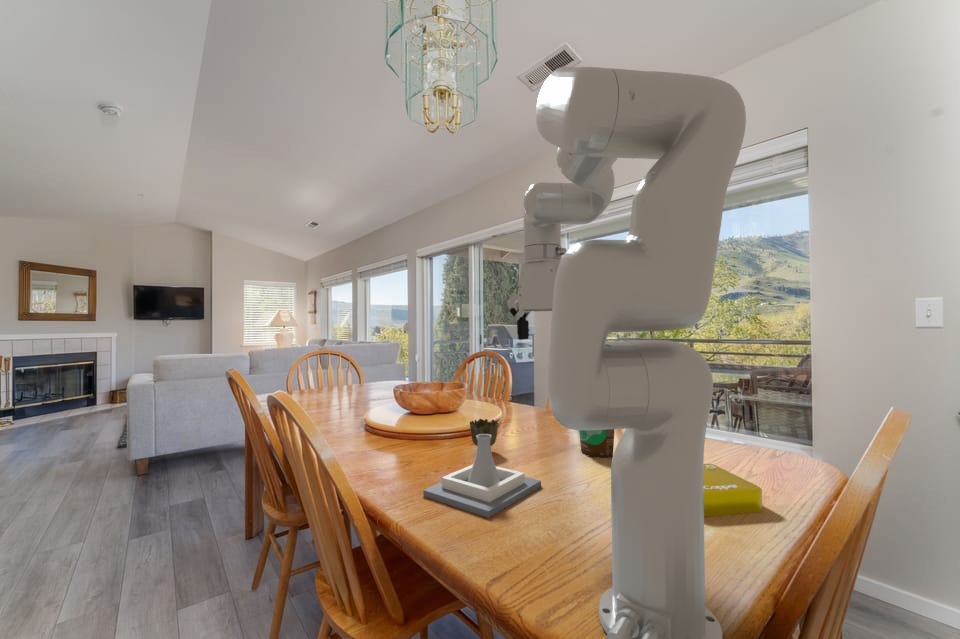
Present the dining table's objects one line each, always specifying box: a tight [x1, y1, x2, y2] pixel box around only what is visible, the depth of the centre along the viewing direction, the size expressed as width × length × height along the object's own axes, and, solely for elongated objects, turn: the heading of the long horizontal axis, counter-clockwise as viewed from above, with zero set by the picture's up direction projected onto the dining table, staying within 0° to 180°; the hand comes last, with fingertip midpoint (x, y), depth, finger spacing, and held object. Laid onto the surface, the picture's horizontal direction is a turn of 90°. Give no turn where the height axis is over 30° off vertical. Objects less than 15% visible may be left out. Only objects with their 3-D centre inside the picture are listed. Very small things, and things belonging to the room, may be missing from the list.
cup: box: [469, 418, 499, 448], centre depth 113 cm, size 8×7×8 cm
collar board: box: [422, 464, 542, 519], centre depth 87 cm, size 18×16×3 cm
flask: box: [467, 434, 501, 488], centre depth 87 cm, size 7×7×10 cm
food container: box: [578, 429, 616, 459], centre depth 111 cm, size 12×6×10 cm, turn 25°
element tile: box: [703, 463, 763, 518], centre depth 83 cm, size 15×15×5 cm
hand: (543, 339), depth 89 cm, fingers open, 9 cm apart
